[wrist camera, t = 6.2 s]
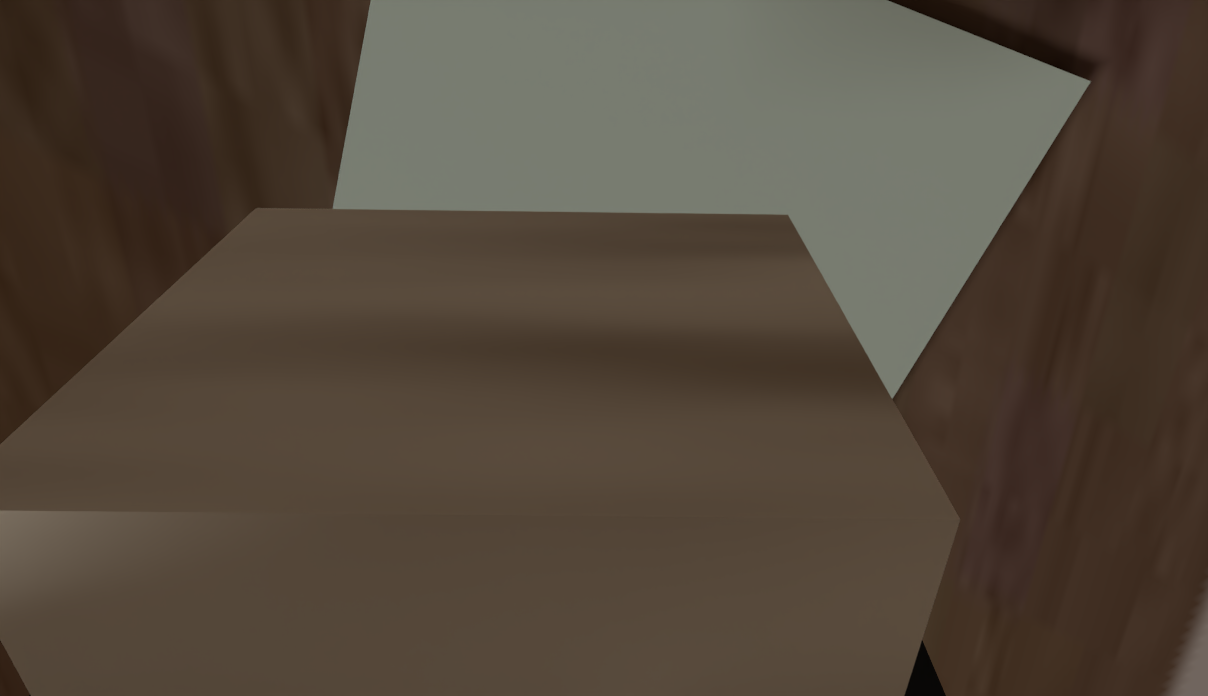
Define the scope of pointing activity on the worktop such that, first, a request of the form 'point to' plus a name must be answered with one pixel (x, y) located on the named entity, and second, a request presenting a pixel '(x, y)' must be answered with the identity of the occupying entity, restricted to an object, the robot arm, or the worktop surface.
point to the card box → (475, 472)
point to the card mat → (717, 130)
